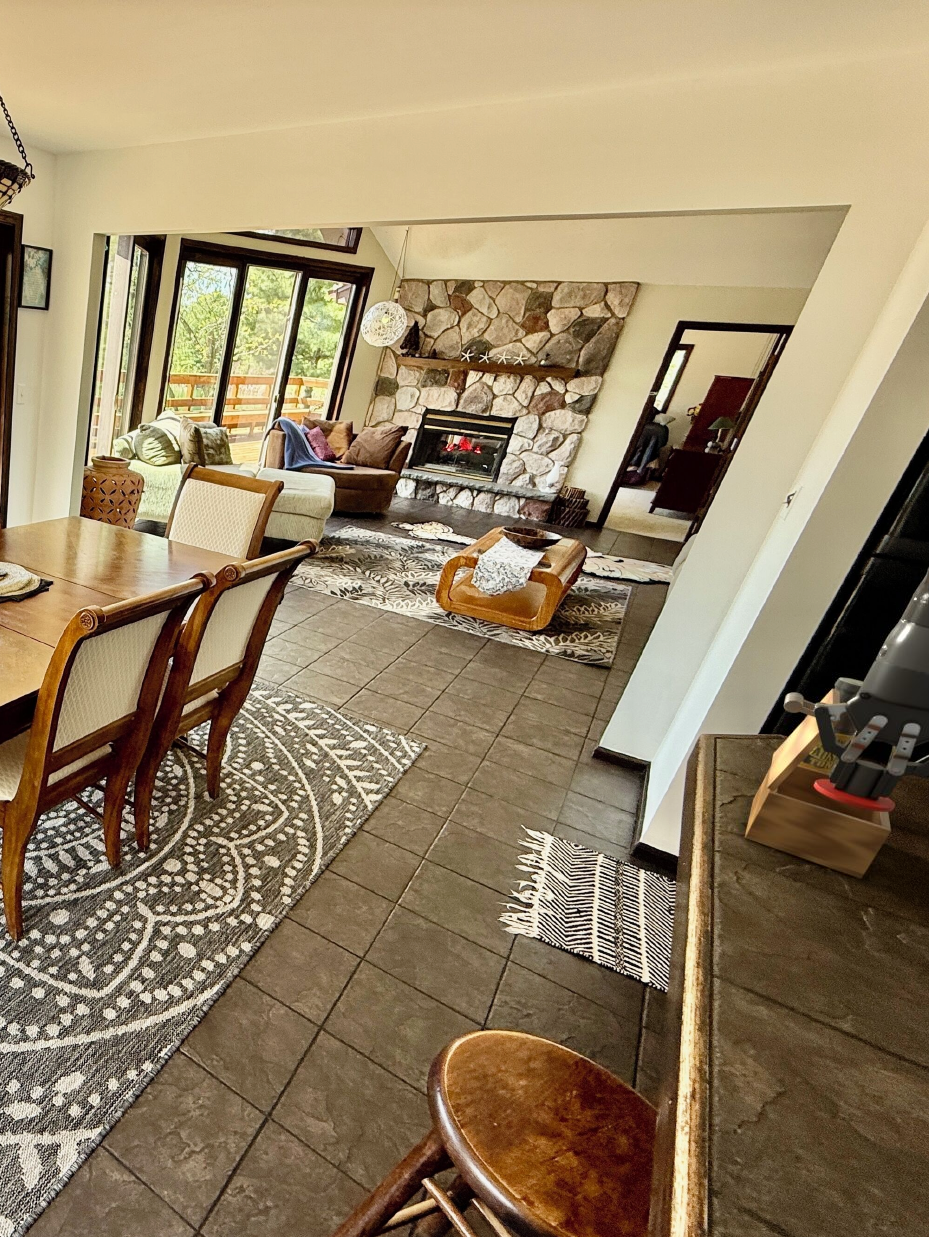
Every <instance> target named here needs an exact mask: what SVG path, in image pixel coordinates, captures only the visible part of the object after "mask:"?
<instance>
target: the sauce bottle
mask: <svg viewBox="0 0 929 1237" xmlns="http://www.w3.org/2000/svg"><path fill="white" fill-rule="evenodd" d="M863 682H864V681H862V680H859V679H858V680H857V679H854V678H849V677H839V678H838V679H837V681H835V683H834V689H835V690H838V691H839V695H840V703H846V701H847V700H848V699H850V698H852V697H853V696H855V695H856V694H857V693H858V691H859V690H860V688H861V686H862V684H863ZM807 716H808V715H807V714H806V716H805V718H804V720H805V719H806V717H807ZM834 731H835V735H836V740H837V742H839V743H840V744H842V745H844V746H845V745H846V744H847V743H848V741H849V740H850V738H851V737H852V735H853V734H854V732H855V731H856V729H855V727H854V725H853V723H852V721H851V719H850V717H849V715H848V713H847V712H843V713H842V714H841V715H840V721H839V722H838V723H837V724H836V725H835V726H834ZM837 760H838V757H837V756H835V755H834V754H832V753H828V752H826V751H824V750H823V747H822V743H821V741H820V742H819V743H818V744H817V746H816V747H815V748H814V749H813V750H812V751H811V752H810V753H809V754H808V755H807V756H806V757H805V758H804V759H803V760H802V762H801V763H800V764H799V765H800V766H804V767H807V768H811V769H814V770H818V771H821V772H825V773H828V774H830V773H831V771H832V769H833V767H834V766H835V764H836V762H837Z"/></svg>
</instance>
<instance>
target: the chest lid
mask: <svg viewBox="0 0 929 1237" xmlns="http://www.w3.org/2000/svg"><path fill="white" fill-rule="evenodd" d="M820 702H823V703H826V704H837V703H840V695H839V691H838V690H835V688H831V690H830V691H829V692H828V693H826V695H825V696H824V697H823V698H822V699H821V701H820ZM815 704H816V703H815V702H814V703H813V702H811V701H808V700H806V699H804V696H803V695H802V694H801V693H799V692H790V693H787V694H786V695H785V698H784V704H783V708H784V709H785V711H787V712H789V713H799V712H800V713H803V714H806V716H807V715H808V716H807V717H806V716H805V718H806V719H805V718H804V720H802V722H801V723H800V724H798V726H797V727H796V728H795V729H794V730H793V732H792V733H791V734H789V736H788V737H787V738H786V739H785V740H784V742H783V743H782V744H781V745H780V746H779V747H778V748H777V749H776V750H775V751H774V752H773V754H772V760H771V765H770V767H771V770H770V775H769V780H768V785H767V788H768V789H770V790H773V791H774V790H775V789H776V788H777V787H778V786H779V785H780V784H781V783H782V782H783V781H784V780H785V779H786V778H787V777H788V775H789V774H790V773H791V772H792V771H793V770H794V769H795V768H796V767H797V766H798V765H799V764H800V763H801V762H802V760H803V759H804V758H805V757H806V756H807V755H808V754H809V753H810V752H811V751H812V750H813V749H814V748H815V747H816V746H817V744H818V743H819V742H820V741H821V739H820V734H819V730H818V726H817V722H816V718H815V713H814V706H815ZM839 721H840V719H839V720H838V721H835V722H832V723H833V727H834V726H835V725H836V724H837V723H838V722H839Z"/></svg>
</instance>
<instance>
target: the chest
mask: <svg viewBox="0 0 929 1237" xmlns="http://www.w3.org/2000/svg"><path fill="white" fill-rule="evenodd" d="M770 770H771V766H770V767H769V768H768V771H767V772H766V775H765V777H764V778H763V781H762V782H761V785H760V786H759V788H758V790H757V791H756V794H755V796H754V797H753V800H752V803H751V808H750V813H749V817H748V821H747V824H746V825H747V826H746V830H745V834H744V838H745V839H746V840H749V841H752V842H755V843H759V844H762V845H764V846H767V847H770V848H773V849H775V850H778V851H780V852H783V853H787V854H790V855H792V856H795V857H798V858H800V859H804V860H806V861H809V862H811V863H812V862H813V863H815V864H817V865H819V866H822V867H826V868H829V869H831V870H834V871H837V872H839V873H843V874H846V875H848V876H851V877H855V878H857V879H861V880H862V879H863V877H864V875H865V874H866V872H867V870H868V869H869V867H870V865H871V864H872V863H873V861H874V859H875V858H876V856H877V854H878V853H879V851H880V849H881V848H882V847H883V845H884V844H885V842H886V841H887V838H888V837H889V835H890V833H891V832H892V828H891V822H890V816H889V815H890V814H889V812H879V811H872V810H867V809H863V808H859V807H855V806H852V805H848V804H845V803H842V802H840V801H837V800H835V799H832V798H830V797H828V796H826V795H824V794H822V793H821V792H819V791H818V790H816V789H815V787H814V784H815V782H816V781H817V780H819V779H829V775H830V774H828V773H825V772H821V771H818V770H814V769H811V768H807V767H804V766H800V765H798V766H797V767H796V768H795V769H794V770H793V771H792V772H791V773H790V774H789V775H788V777H787V778H786V779H785V780H784V781H783V782H782V783H781V784H780V785H779V786H778V787H777V788H776V789H775V790H774V791H773V790H770V789H768V788H767V785H768V780H769V775H770Z"/></svg>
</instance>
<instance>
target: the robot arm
mask: <svg viewBox="0 0 929 1237" xmlns="http://www.w3.org/2000/svg"><path fill="white" fill-rule="evenodd" d="M862 682H863V684H862V686H861V688H860V690H859V691H858V693H857V694H856V695H855V696H853V697H852V698H850V699H848V700H847V701H846V703H837V704H826V703H823V702H821V701H820V702H816V703H814V704H815V706H814V713H815V718H816V722H817V726H818V730H819V734H820V739H821V743H822V747H823V750H824V751H826V752H828V753H832V754H834V755H835V756H837V757H838V760H837V762H836V764H835V766H834V767H833V769H832V771H831V773H830V775H829V779H830V783H834V784H833V788H835V789H838V790H842V789H843V787H844V785H845V784H846V782H847V780H848V778H849V776H850V775H851V773H852V771H853V769H854V767H855V766H856V765H855V762H856V761H857V760H858V757H860V756H861V754H862V753H863V752H864V750H866V749H867V748H868V747H869V745H870V744H871V743H872V742H879V743H880V742H881V743H886V744H888V745H890V746H892V749H891V753H890V755H889V759H888V761H887V765H886V767H883V768H884V771H883V773H882V775H881V776H880V778H879V780H878V782H877V783H876V785H875V787H874V789H873V790H872V792H871V794H870V796H869V798H870V799H873V800H876V801H877V800H878V799H879V797H883V798H889V797H890V796H891V795H892V793H893V791H894V789H895V788H896V786H897V784H898V783H899V781H900V779H901V778H903V777H904V776H905V777H906V776H917V777H919V778H926V777H929V754H927V755H926V756H924V757H922V758H920V759H918V760H917V761H910V759H911V757H912V754H913V752H914V748H915V747H917V746H919V745H923V744H926V743H927V742H928V743H929V567H928V568H927V572H926V575H925V576H924V578H923V580H922V581H921V582H920V584H919V585H918V587H917V589H915V591H914V593H913V595H912V597H911V598H910V601H909V603H908V604H907V606H906V609H905V610H904V612H903V614H902V616H901V618H900V619H899V621H898V623H897V624H896V625H895V627H894V628H893V629H892V630H891V631H890V633H889V634H888V636H887V637H886V639H885V641H884V643H883V645H882V646H881V648H880V649H879V652H878V654H877V656H876V658H875V659H874V661H873V663H872V665H871V667H870V668H869V670H868V673H867V674H866V677H865V678H864V680H863V681H862ZM843 712H847V713H848V715H849V717H850V719H851V721H852V723H853V725H854V727H855V729H856V731H855V732H854V734H853V735H852V737H851V738H850V740H849V741H848V743H847V744H846V745H845V746H844V745H842V744H840V743H839V742H837V740H836V735H835V731H834V727H833V723H832V722H835V721H838V720H839V719H840V715H841V714H842V713H843Z"/></svg>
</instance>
